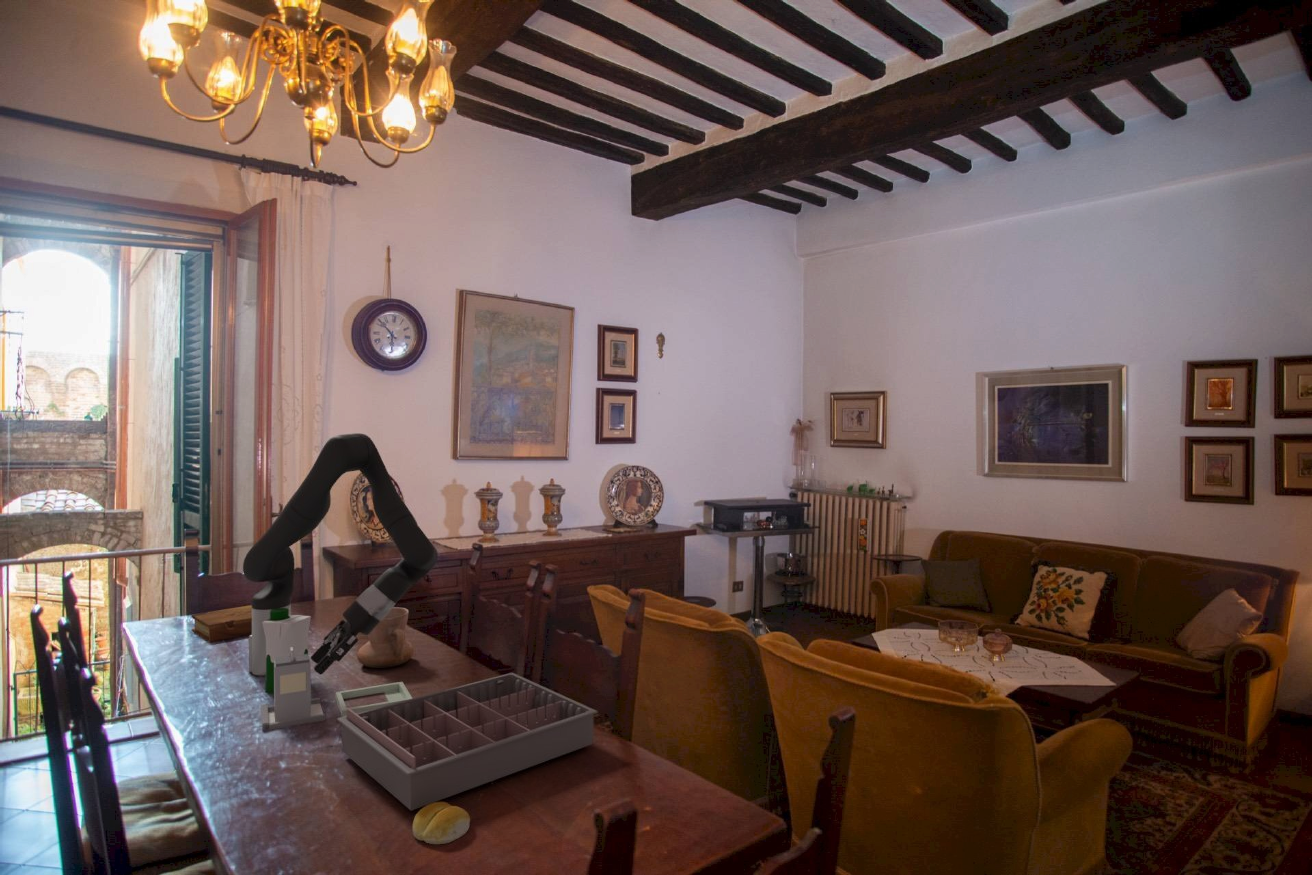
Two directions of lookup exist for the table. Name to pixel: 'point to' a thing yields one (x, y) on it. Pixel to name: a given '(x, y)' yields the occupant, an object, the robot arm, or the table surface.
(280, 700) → the labeled grey carton
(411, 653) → the ceramic jug
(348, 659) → the table surface
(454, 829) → the bread roll
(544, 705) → the organizer tray
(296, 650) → the milk carton
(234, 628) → the diary
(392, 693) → the tray
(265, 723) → the bay
